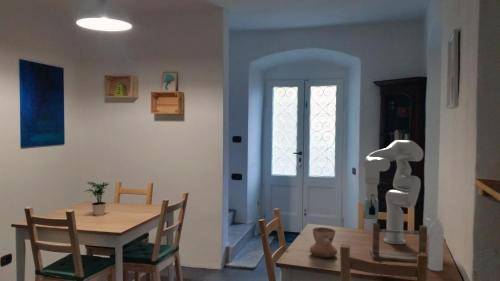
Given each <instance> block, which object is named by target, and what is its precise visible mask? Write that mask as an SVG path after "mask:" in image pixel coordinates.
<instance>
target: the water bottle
mask: <svg viewBox="0 0 500 281" xmlns="http://www.w3.org/2000/svg"><path fill="white" fill-rule="evenodd" d="M431 220H432V219H431V218H429V217H426V218H425V222H431ZM428 232H429V233H428V256H427V258H428V263H427V268H428V269H429V270H431V271H434V272H441V271H443V269H444V268H443V267H444V266H443V264H444V262H443V260H444V234H445V233H444V232H445V230H444V227H443V226H442V224H441V223H440V219H439V218H434V219H433V222H432V223H431V224H430V226H429V228H428Z"/></svg>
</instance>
